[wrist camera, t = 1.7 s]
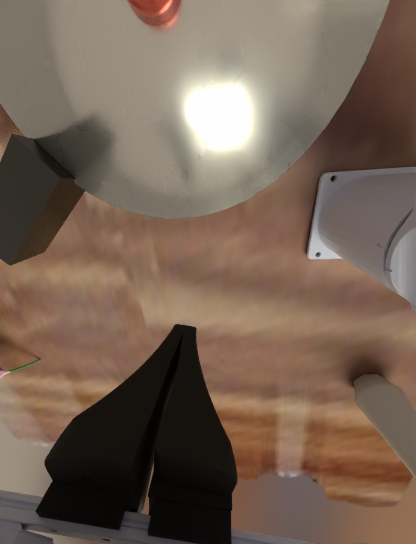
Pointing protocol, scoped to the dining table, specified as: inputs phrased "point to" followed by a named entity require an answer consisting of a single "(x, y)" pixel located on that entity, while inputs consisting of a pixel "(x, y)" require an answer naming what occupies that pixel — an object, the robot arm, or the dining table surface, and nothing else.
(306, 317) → the dining table surface
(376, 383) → the beige pestle
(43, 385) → the dining table surface
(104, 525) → the robot arm
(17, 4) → the cooker lid
